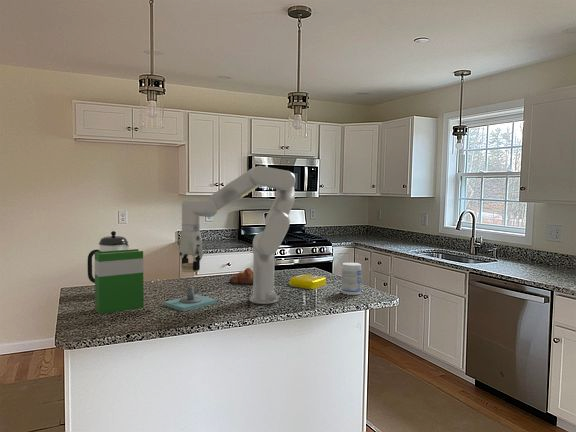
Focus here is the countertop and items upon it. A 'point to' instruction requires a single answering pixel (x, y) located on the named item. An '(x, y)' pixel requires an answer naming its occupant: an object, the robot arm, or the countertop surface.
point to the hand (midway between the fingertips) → (190, 268)
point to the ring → (188, 268)
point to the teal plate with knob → (190, 301)
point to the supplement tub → (351, 278)
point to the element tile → (307, 281)
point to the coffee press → (107, 249)
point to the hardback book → (118, 280)
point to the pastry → (243, 277)
